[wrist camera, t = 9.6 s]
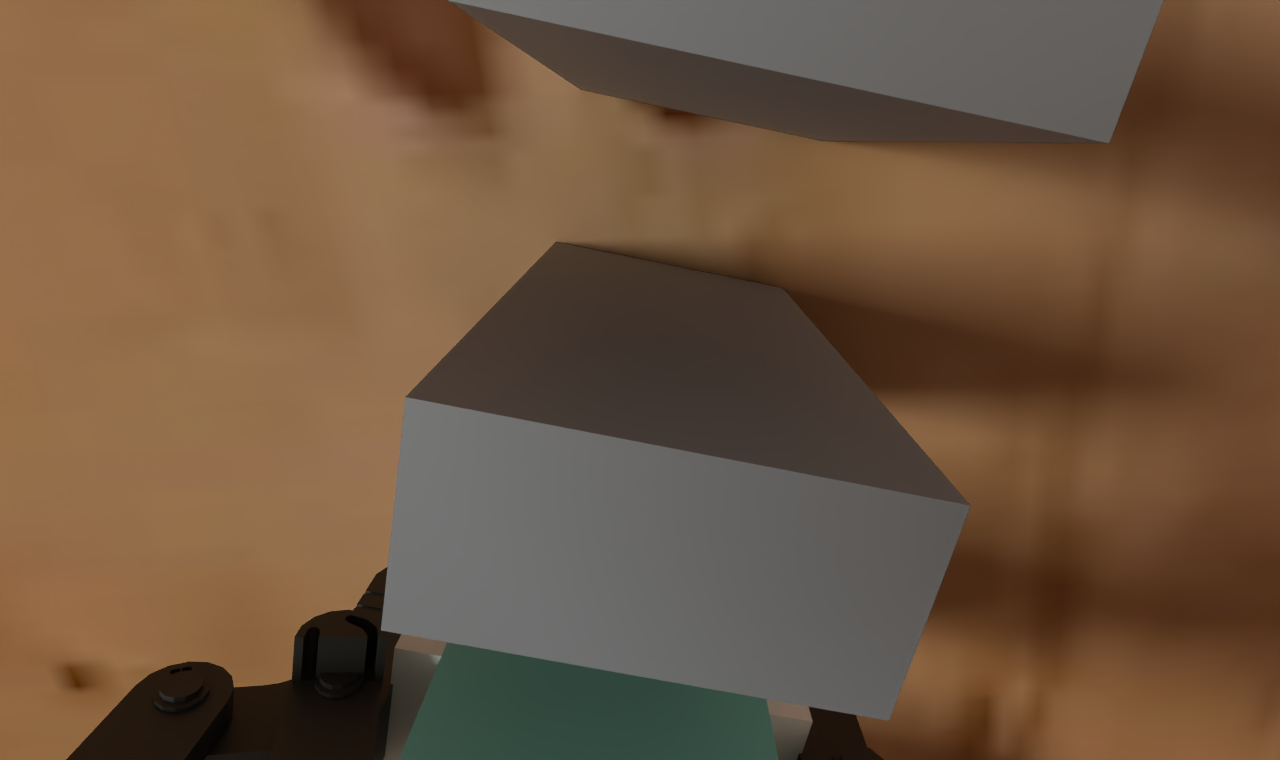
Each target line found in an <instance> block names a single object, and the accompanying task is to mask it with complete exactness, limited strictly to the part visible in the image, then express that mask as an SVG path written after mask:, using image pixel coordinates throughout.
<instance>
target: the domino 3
mask: <svg viewBox="0 0 1280 760" xmlns="http://www.w3.org/2000/svg"><path fill="white" fill-rule="evenodd" d="M399 760H778V755H777V750H776V745H775V740H774V735H773V730H772V725H771V720H770V715H769V710H768V704H767V699H764V698H758V697H752V696H747V695H741V694H736V693H730V692H724V691H719V690H713V689H707V688H702V687H696V686H691V685H685V684H679V683H674V682H668V681H663V680H657V679H651V678H646V677H640V676H634V675H629V674H623V673H618V672H612V671H606V670H601V669H595V668H590V667H584V666H578V665H573V664H567V663H561V662H556V661H550V660H545V659H539V658H533V657H528V656H522V655H517V654H511V653H505V652H500V651H494V650H488V649H483V648H477V647H472V646H466V645H460V644H455V643H449V642H447V644H446V646H445V648H444V651H443V653H442V656H441V658H440V661H439V663H438V666H437V668H436V670H435V673H434V675H433V678H432V680H431V683H430V685H429V687H428V690H427V692H426V695H425V697H424V700H423V702H422V705H421V707H420V709H419V712H418V714H417V717H416V719H415V722H414V724H413V726H412V729H411V731H410V734H409V736H408V739H407V741H406V744H405V746H404V748H403V751H402V753H401V756H400V758H399Z"/></svg>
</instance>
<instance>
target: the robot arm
mask: <svg viewBox="0 0 1280 760" xmlns="http://www.w3.org/2000/svg"><path fill="white" fill-rule="evenodd" d="M387 568H388V567H387ZM387 568H385V569H384V570H382V571H381V572H379V573H377V574H376V576H375V577H374V579H373V580H372V582H371V583H370V585H369V587H368V588H367V590H366V592H365V594H363V596H362V597H361V599H360V601H359V602H358V604H357V607H356V608H354V610H353V611H352V610H342V611H332V612H328V613H325V614H322V615H319V616H316V617H314V618H312V619H311V620H309V621H308V622H307V623H305V624H304V625H302V626H301V628H300V629H299V631H298V633H297V634H296V636H295V641H294V657H293V672H292V680H289V681H285V682H282V683H278V684H271V685H264V686H249V687H235V688H234V686H233V680H232V676H231V675H230V674H229V673H228V672H227V671H226V670H225V669H224V668H223V667H220V666H217V665H214V664H211V663H208V662H185V663H181V664H176V665H171V666H167V667H165V668H163V669H161V670H158V671H156V672H154V673H152V674H150V675H148V676H147V677H146V678H145V679H143V680H142V681H141V682H139V683H138V684H137V685H136V686H135V687H134V688H133V689H132V690H131V691H130V692H129V693H128V694H127V695H126V696H125V697H124V698H123V700H122V701H121V702H120V703H119V704H118V705H117V706H116V707H115V708H114V709H113V710H112V711H111V712H110V713H109V715H108V716H107V717H106V718H105V719H104V720H103V721H102V722H101V723H100V724H99V725H98V726H97V727H96V728H95V730H94V731H93V732H92V733H91V734H90V735H89V736H88V737H87V738H86V739H85V740H84V741H83V742H82V743H81V745H80V746H79V747H78V748H77V749H76V750H75V751H74V752H73V753H72V754H71V755H70V756H69V757H68V758H67V759H66V760H399V758H400V756H401V753H402V751H403V748H404V746H405V744H406V741H407V739H408V736H409V734H410V731H411V729H412V726H413V724H414V722H415V719H416V717H417V714H418V712H419V709H420V707H421V705H422V702H423V700H424V697H425V695H426V692H427V690H428V687H429V685H430V683H431V680H432V678H433V675H434V673H435V670H436V668H437V666H438V663H439V661H440V658H441V656H442V653H443V651H444V648H445V646H446V644H447V642H444V641H438V640H432V639H427V638H421V637H415V636H410V635H404V634H399V633H393V632H387V631H382V630H381V624H382V615H383V605H384V596H385V587H386V577H387ZM767 704H768V710H769V715H770V720H771V725H772V730H773V735H774V740H775V745H776V750H777V755H778V760H883V759H882V758H881V757H880V756H879V755H877V754H876V753H875V752H874V751H872V750H871V749H869V748H867V746H866V743H865V740H864V737H863V735H862V732H861V729H860V726H859V723H858V720H857V718H856V715H854V714H848V713H842V712H837V711H831V710H825V709H820V708H814V707H809V706H803V705H797V704H792V703H786V702H781V701H775V700H769V699H767Z"/></svg>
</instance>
